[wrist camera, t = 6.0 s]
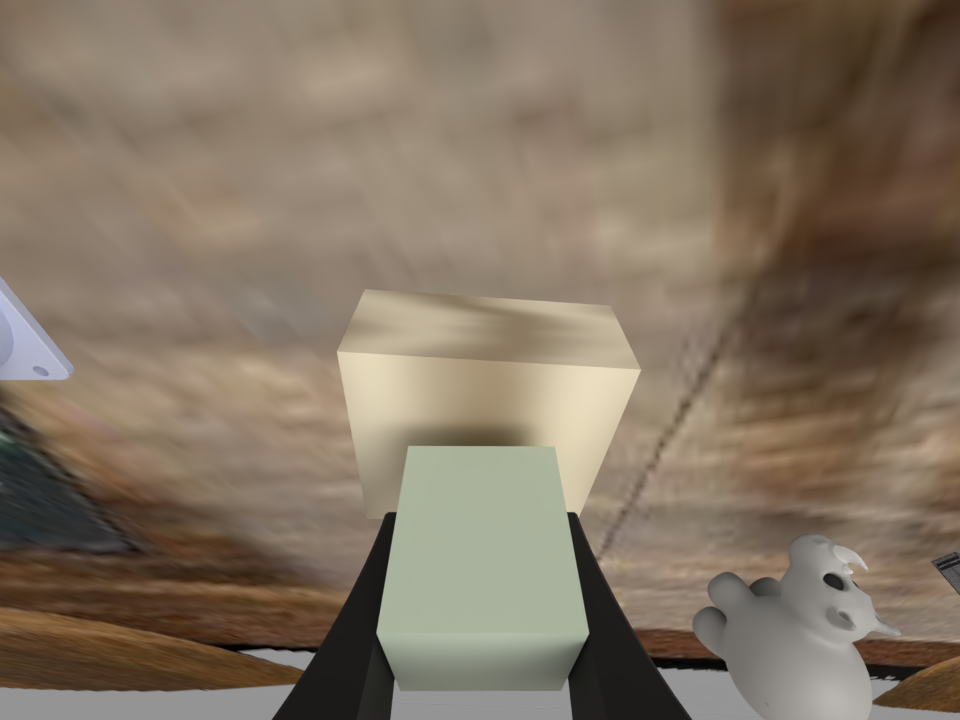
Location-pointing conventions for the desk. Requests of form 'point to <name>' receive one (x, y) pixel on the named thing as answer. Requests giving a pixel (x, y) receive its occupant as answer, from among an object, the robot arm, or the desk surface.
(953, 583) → the mini dv tape
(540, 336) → the birch block
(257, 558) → the desk surface
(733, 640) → the round bodied animal figurine
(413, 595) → the sage cube
